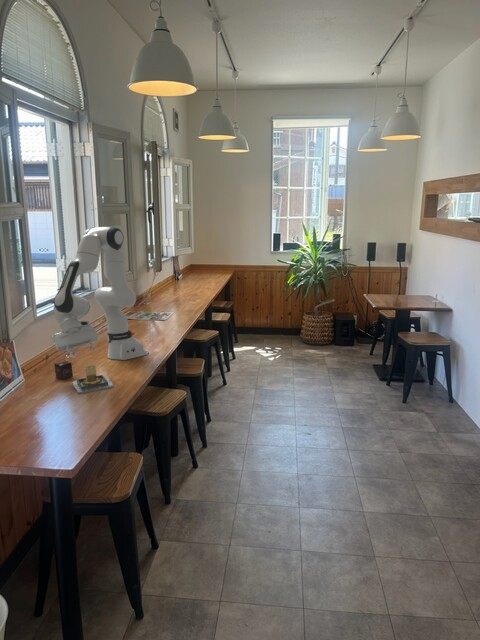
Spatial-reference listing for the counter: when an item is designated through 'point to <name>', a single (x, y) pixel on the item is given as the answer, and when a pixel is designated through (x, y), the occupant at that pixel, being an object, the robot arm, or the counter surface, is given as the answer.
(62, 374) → the box
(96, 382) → the tan chunky piece
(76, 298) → the robot arm
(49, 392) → the counter surface
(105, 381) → the carrier
